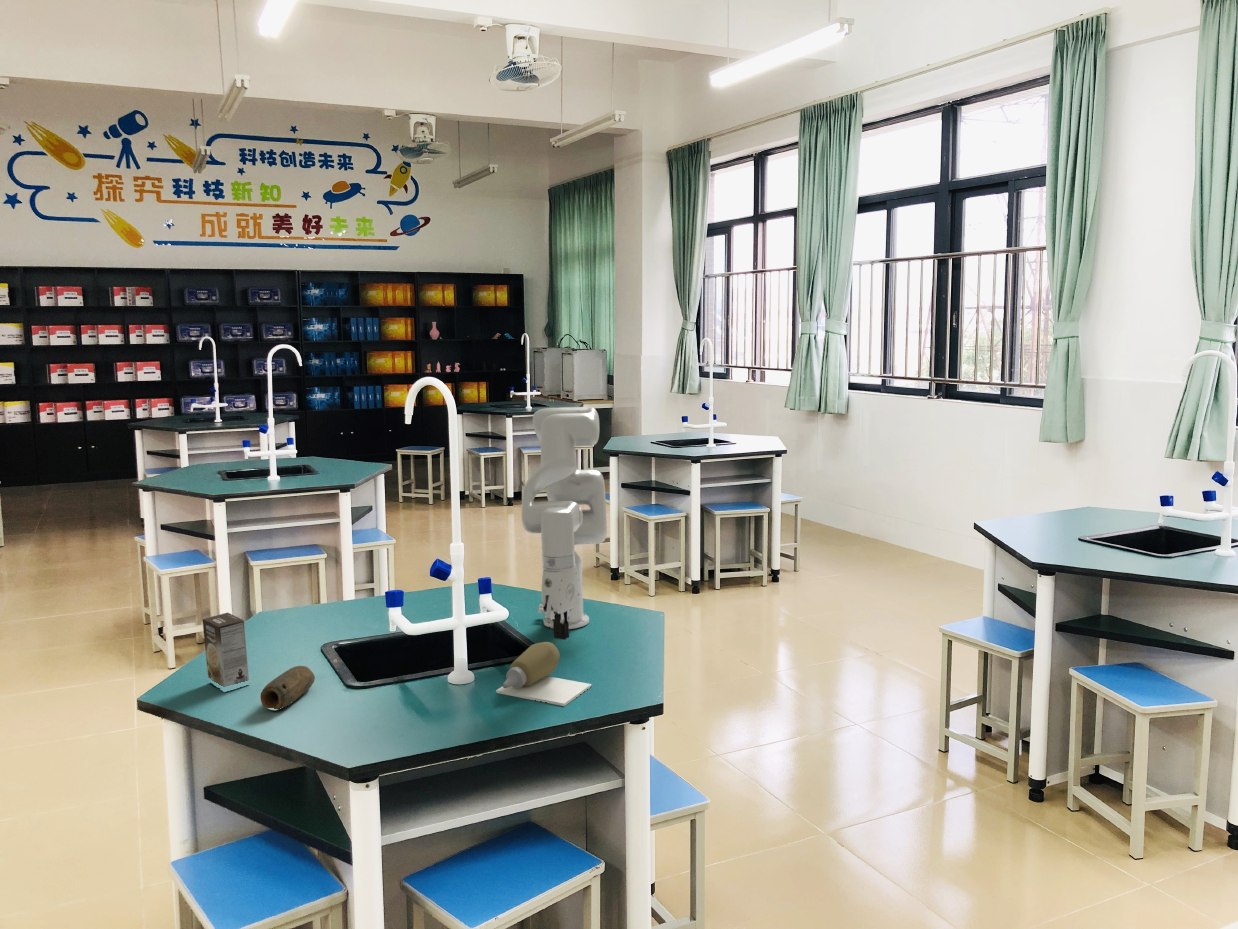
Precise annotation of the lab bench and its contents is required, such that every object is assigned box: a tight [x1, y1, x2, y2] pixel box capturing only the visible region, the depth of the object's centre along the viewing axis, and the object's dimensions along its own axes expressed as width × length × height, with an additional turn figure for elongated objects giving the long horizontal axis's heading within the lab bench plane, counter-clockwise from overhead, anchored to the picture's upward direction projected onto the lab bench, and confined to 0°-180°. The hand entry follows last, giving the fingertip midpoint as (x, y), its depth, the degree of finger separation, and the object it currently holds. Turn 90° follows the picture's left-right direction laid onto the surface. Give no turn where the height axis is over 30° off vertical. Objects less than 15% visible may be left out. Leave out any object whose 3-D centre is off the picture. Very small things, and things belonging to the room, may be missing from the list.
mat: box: [495, 675, 593, 707], centre depth 214 cm, size 18×12×1 cm, turn 62°
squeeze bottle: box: [502, 641, 561, 688], centre depth 216 cm, size 8×8×18 cm
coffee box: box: [201, 612, 250, 687], centre depth 222 cm, size 9×6×16 cm
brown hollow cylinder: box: [260, 665, 316, 709], centre depth 212 cm, size 15×7×7 cm, turn 175°
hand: (561, 637), depth 220 cm, fingers closed
